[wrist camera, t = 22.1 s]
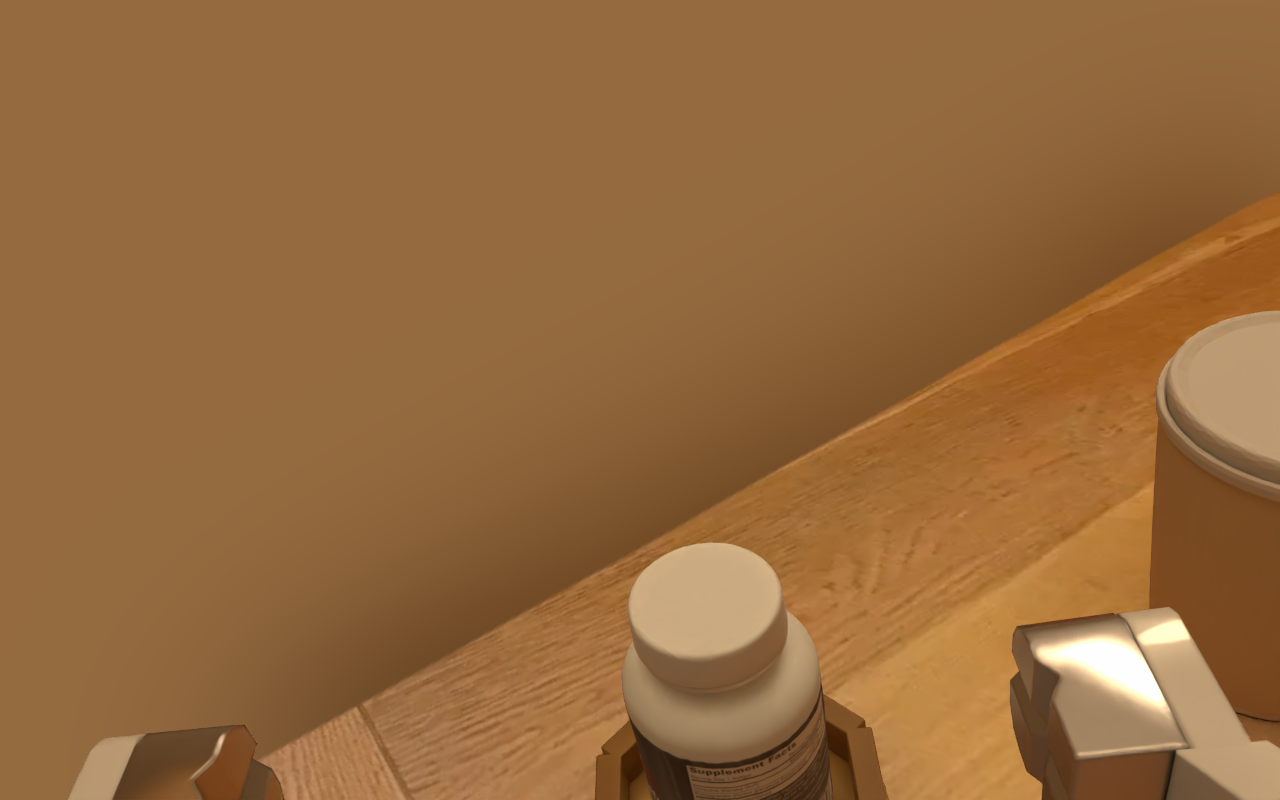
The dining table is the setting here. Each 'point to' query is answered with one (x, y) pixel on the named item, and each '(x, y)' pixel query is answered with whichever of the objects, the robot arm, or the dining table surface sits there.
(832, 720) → the cup holder
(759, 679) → the pill bottle
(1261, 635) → the coffee cup
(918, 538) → the dining table surface
